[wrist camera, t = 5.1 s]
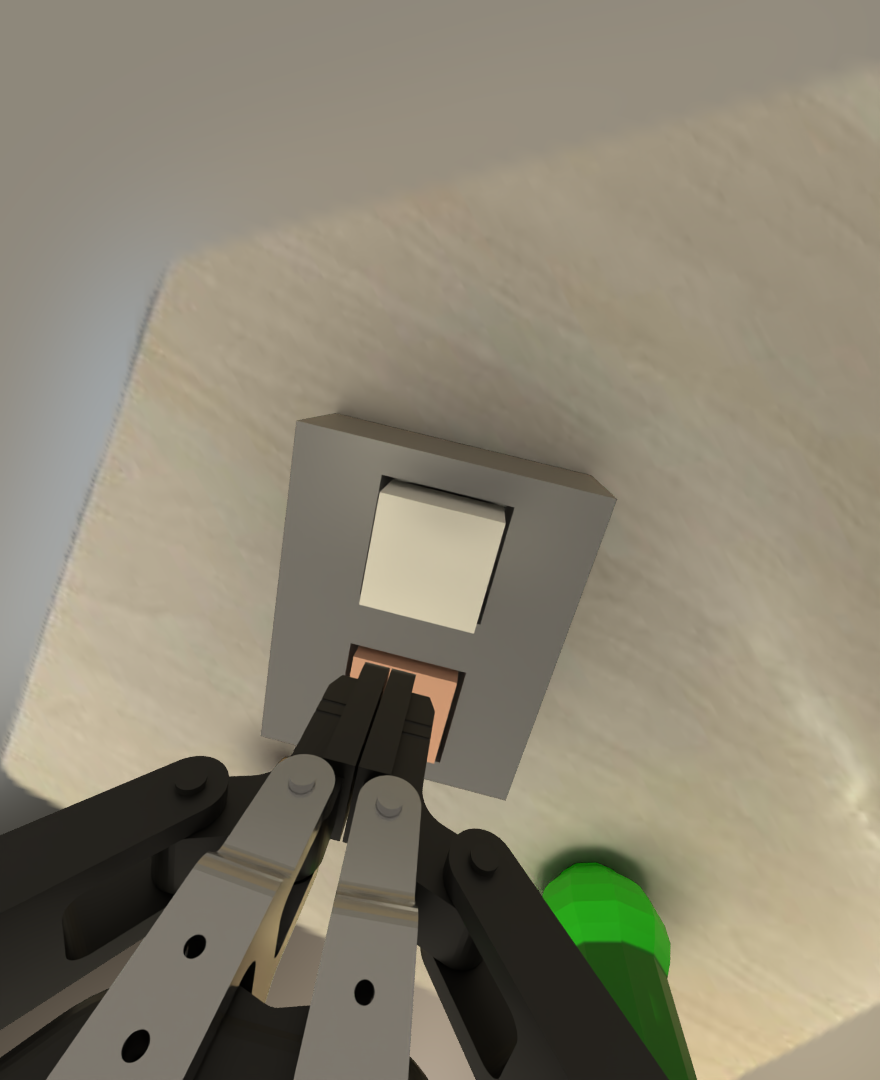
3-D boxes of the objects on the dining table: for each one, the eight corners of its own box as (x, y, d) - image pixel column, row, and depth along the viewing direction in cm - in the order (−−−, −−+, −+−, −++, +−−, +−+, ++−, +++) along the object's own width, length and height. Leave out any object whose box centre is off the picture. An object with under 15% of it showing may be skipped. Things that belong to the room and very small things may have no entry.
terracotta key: (460, 653, 28) (457, 683, 26) (439, 728, 30) (434, 763, 28) (367, 629, 29) (353, 656, 26) (352, 705, 31) (338, 738, 28)
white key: (503, 507, 24) (505, 523, 21) (475, 606, 26) (473, 633, 23) (392, 479, 24) (379, 492, 21) (373, 580, 26) (359, 604, 23)
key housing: (591, 475, 28) (617, 499, 22) (502, 731, 34) (505, 800, 29) (335, 413, 28) (296, 420, 22) (298, 678, 35) (260, 735, 29)
